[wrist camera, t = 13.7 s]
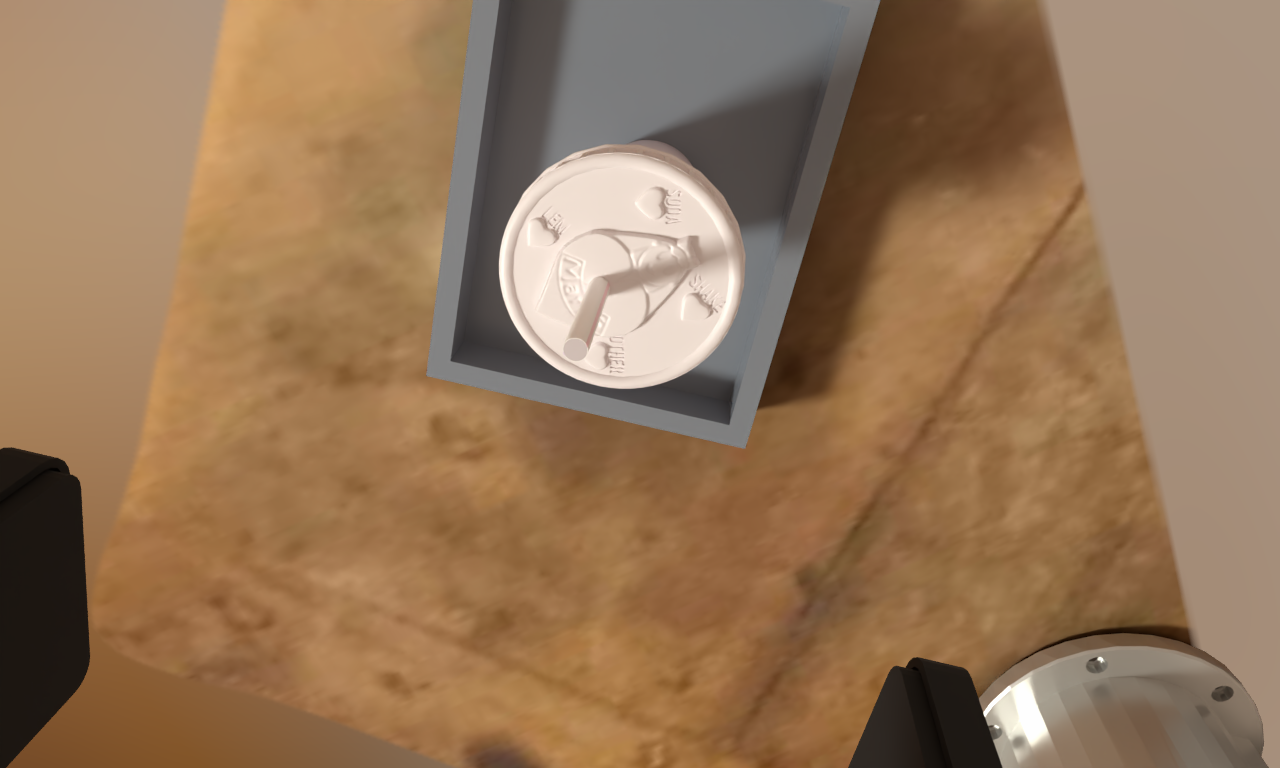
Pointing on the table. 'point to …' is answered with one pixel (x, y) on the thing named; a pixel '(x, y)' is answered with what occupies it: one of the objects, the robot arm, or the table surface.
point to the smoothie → (622, 265)
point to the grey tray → (631, 111)
